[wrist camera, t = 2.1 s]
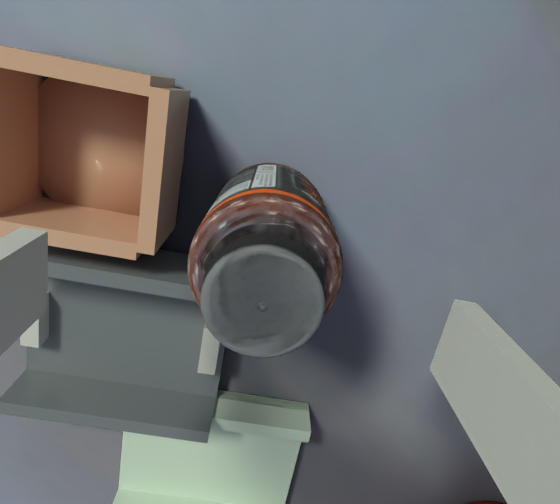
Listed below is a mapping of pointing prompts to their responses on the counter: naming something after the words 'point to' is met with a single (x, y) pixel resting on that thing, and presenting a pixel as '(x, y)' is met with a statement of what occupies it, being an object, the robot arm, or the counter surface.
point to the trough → (219, 456)
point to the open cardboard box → (89, 153)
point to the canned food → (486, 503)
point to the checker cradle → (120, 348)
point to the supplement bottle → (265, 262)
